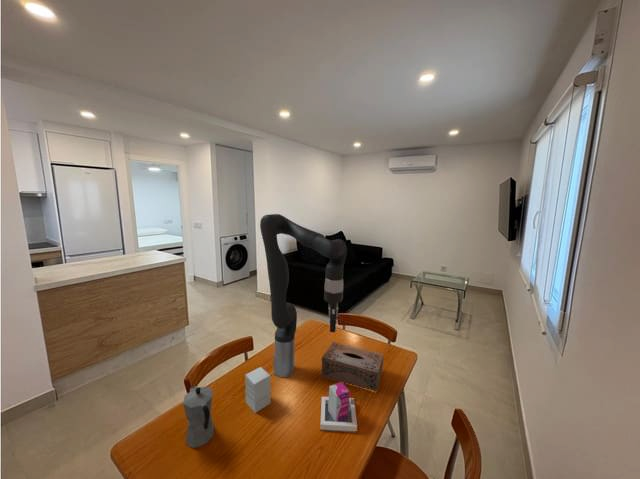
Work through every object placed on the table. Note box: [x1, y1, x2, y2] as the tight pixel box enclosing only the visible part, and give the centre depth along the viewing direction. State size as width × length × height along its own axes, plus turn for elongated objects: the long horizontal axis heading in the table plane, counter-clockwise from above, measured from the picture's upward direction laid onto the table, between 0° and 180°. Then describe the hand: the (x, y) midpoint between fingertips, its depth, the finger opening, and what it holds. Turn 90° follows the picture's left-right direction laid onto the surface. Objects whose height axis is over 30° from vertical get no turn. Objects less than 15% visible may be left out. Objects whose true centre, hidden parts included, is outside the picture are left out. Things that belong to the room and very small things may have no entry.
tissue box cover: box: [321, 341, 384, 392], centre depth 119 cm, size 26×14×10 cm, turn 67°
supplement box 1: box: [244, 366, 272, 414], centre depth 100 cm, size 7×7×13 cm
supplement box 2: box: [328, 382, 350, 422], centre depth 95 cm, size 6×6×12 cm
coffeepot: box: [182, 385, 215, 449], centre depth 84 cm, size 15×9×18 cm, turn 43°
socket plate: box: [319, 396, 358, 433], centre depth 95 cm, size 13×13×3 cm
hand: (332, 326), depth 103 cm, fingers open, 8 cm apart
